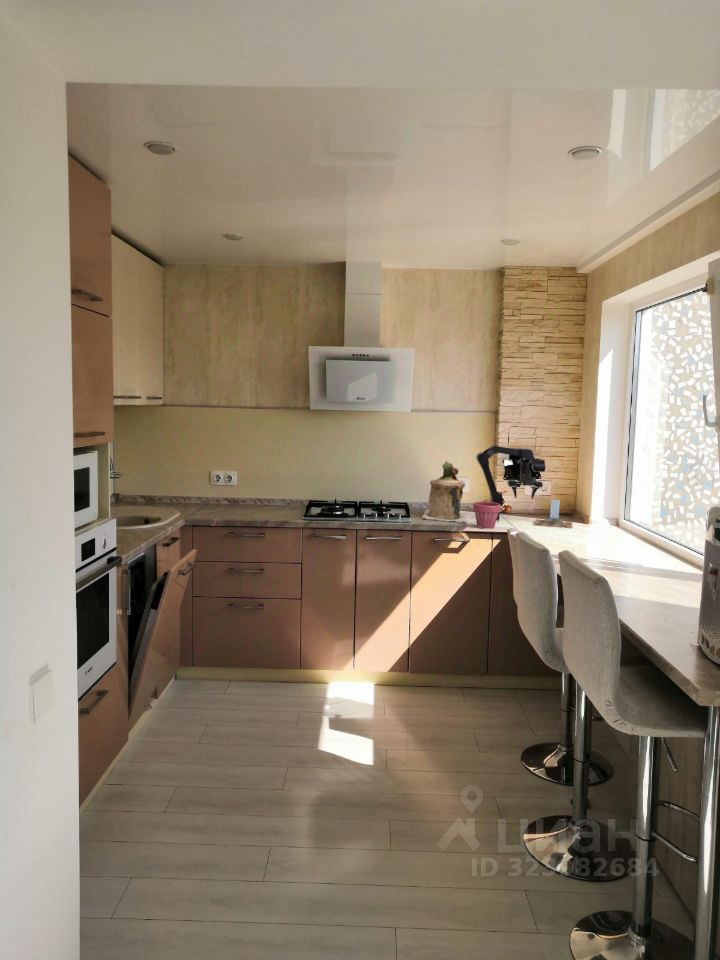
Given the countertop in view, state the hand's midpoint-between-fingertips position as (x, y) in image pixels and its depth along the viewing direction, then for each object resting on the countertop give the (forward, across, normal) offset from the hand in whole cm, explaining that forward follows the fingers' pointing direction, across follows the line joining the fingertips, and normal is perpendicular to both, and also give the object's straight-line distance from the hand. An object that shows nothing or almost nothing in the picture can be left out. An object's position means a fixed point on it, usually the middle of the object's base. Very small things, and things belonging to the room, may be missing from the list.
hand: (523, 498), depth 420 cm
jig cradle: (+13, +16, -7) cm, 22 cm away
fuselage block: (+12, +16, -7) cm, 21 cm away
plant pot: (+13, -25, -24) cm, 37 cm away
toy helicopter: (+13, -9, +26) cm, 31 cm away
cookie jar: (+13, -44, 0) cm, 46 cm away
